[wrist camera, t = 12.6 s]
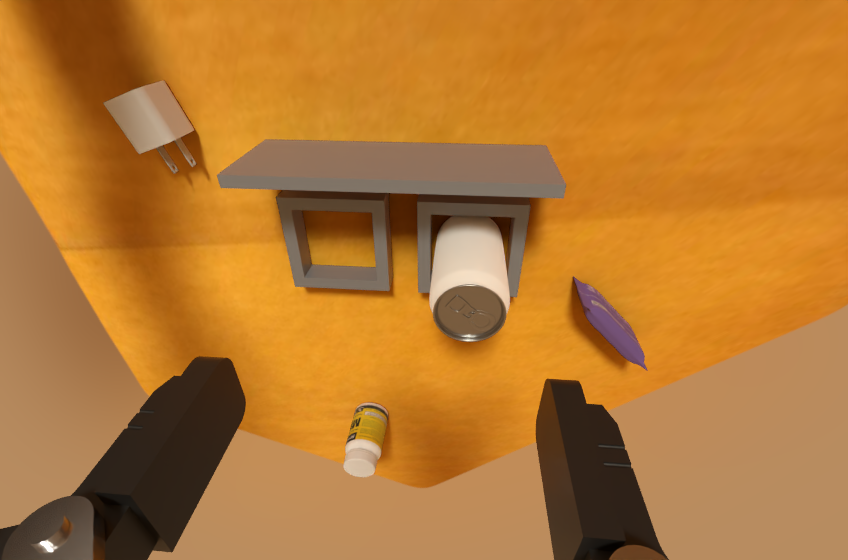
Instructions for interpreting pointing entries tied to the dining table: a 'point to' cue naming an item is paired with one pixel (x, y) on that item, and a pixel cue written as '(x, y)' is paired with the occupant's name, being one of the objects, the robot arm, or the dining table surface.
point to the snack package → (610, 323)
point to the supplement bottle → (365, 439)
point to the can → (469, 279)
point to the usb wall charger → (152, 120)
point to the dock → (395, 173)
